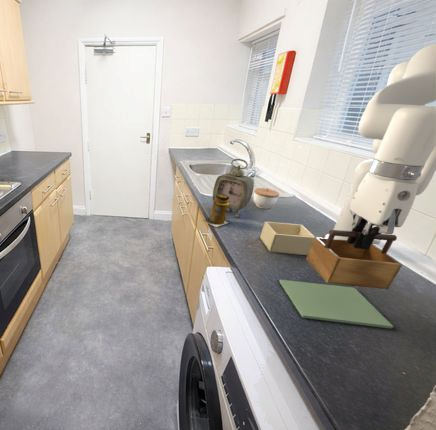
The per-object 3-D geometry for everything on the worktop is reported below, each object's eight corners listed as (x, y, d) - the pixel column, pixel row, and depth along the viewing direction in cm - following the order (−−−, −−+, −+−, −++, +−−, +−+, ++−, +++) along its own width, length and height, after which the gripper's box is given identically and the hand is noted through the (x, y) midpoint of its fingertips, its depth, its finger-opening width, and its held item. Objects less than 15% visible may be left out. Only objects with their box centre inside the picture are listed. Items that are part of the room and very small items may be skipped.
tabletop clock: (209, 210, 125) (219, 157, 114) (218, 205, 131) (229, 154, 120) (239, 220, 116) (254, 163, 105) (248, 214, 121) (262, 160, 111)
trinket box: (275, 205, 132) (281, 187, 128) (274, 212, 124) (279, 193, 120) (252, 200, 138) (256, 183, 134) (249, 207, 129) (254, 189, 125)
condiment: (228, 222, 113) (235, 196, 108) (216, 227, 109) (222, 200, 104) (214, 216, 118) (219, 191, 113) (202, 220, 114) (206, 194, 109)
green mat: (353, 289, 76) (354, 287, 75) (392, 328, 63) (393, 326, 63) (279, 281, 78) (279, 279, 78) (302, 317, 66) (303, 315, 65)
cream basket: (295, 240, 100) (301, 224, 97) (309, 255, 91) (316, 238, 88) (259, 237, 102) (264, 221, 99) (269, 251, 93) (275, 234, 90)
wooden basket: (359, 264, 70) (379, 225, 65) (388, 289, 61) (414, 246, 56) (304, 259, 72) (320, 220, 67) (326, 282, 63) (345, 240, 58)
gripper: (451, 183, 48) (402, 266, 55) (384, 162, 62) (352, 231, 70) (405, 180, 49) (362, 263, 56) (349, 160, 63) (321, 229, 70)
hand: (357, 245), depth 63 cm, fingers closed on wooden basket, 1 cm apart
